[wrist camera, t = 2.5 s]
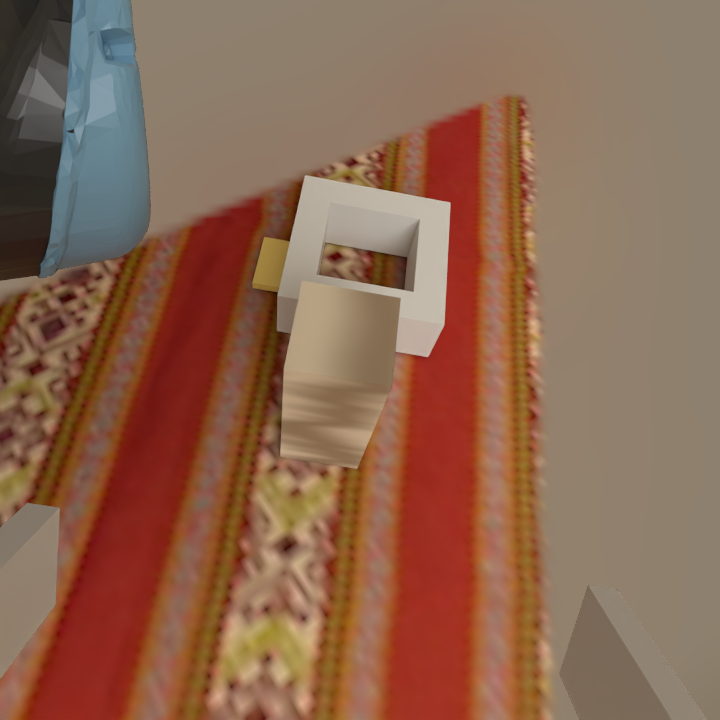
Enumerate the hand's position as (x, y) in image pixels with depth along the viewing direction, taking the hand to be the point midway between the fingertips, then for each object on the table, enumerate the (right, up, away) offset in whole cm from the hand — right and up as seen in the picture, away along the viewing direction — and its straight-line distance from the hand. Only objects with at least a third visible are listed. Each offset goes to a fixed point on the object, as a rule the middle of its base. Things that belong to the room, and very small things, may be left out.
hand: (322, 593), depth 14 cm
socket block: (0, +11, +25) cm, 28 cm away
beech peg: (-1, +2, +20) cm, 20 cm away
